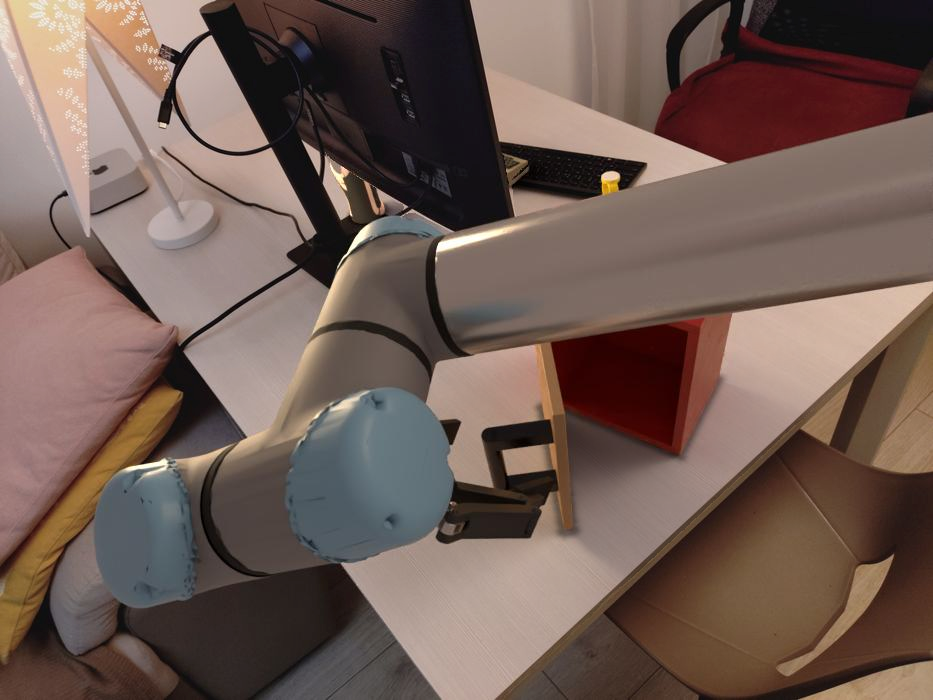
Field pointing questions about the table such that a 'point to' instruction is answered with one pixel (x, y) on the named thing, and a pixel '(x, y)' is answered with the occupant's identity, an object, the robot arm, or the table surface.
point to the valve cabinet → (644, 377)
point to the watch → (610, 182)
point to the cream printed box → (514, 167)
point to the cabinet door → (535, 439)
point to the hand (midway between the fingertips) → (498, 459)
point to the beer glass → (358, 195)
